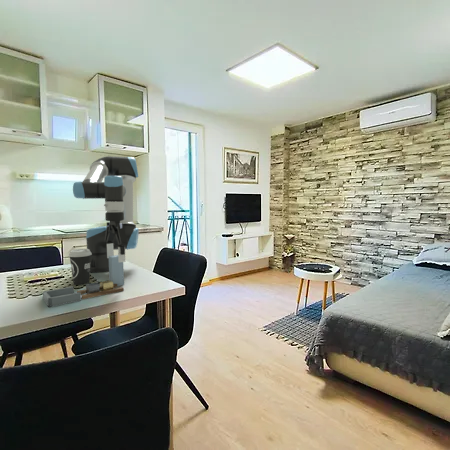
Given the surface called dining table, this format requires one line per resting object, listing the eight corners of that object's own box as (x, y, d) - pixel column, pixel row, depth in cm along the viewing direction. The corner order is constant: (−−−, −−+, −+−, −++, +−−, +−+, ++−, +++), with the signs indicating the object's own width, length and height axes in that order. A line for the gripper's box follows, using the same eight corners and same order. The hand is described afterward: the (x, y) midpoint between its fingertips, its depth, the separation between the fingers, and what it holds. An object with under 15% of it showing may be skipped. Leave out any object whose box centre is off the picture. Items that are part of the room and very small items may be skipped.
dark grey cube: (86, 293, 119) (85, 284, 118) (96, 291, 121) (96, 282, 121) (89, 296, 116) (88, 286, 115) (99, 294, 118) (99, 284, 118)
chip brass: (100, 291, 122) (99, 281, 122) (109, 289, 125) (109, 280, 125) (103, 293, 119) (103, 283, 119) (113, 291, 122) (113, 282, 122)
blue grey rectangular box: (109, 284, 131) (108, 256, 130) (120, 282, 134) (119, 254, 133) (112, 286, 128) (111, 257, 127) (123, 284, 131) (123, 256, 130)
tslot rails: (76, 293, 118) (76, 290, 118) (116, 286, 129) (116, 283, 129) (82, 299, 112) (82, 296, 112) (123, 290, 123) (123, 287, 122)
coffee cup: (83, 286, 129) (82, 252, 127) (64, 285, 131) (63, 251, 129) (97, 280, 138) (96, 249, 137) (79, 279, 140) (78, 248, 139)
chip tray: (42, 299, 112) (42, 291, 112) (73, 293, 119) (72, 286, 119) (48, 307, 104) (48, 298, 103) (80, 300, 110) (80, 292, 110)
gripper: (96, 211, 135) (97, 257, 137) (116, 212, 116) (118, 265, 118) (112, 211, 140) (114, 255, 141) (134, 211, 121) (136, 262, 123)
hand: (116, 259), depth 130 cm, fingers open, 13 cm apart
